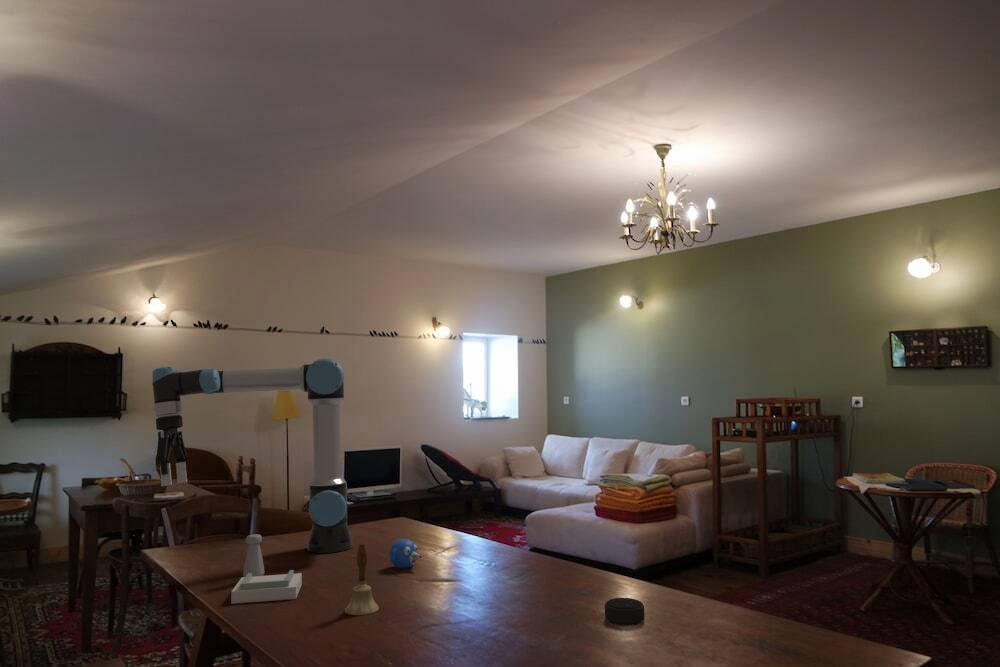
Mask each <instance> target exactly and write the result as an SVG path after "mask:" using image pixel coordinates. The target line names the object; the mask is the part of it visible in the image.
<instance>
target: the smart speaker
mask: <svg viewBox="0 0 1000 667" xmlns="http://www.w3.org/2000/svg"><path fill="white" fill-rule="evenodd" d="M604 617H605V620H606V621H607V622H609V623H611V624H614V625H618V626H636V625H638V624H642V622H643V621H644V620H645V617H646V616H645V605H644V604H643V602H642V601H640V600H639V599H634V598H632V597H631V598H630V597H615V598H610V599H608V600H607V601H606V602H605V603H604Z"/></svg>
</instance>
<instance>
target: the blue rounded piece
mask: <svg viewBox="0 0 1000 667" xmlns="http://www.w3.org/2000/svg"><path fill="white" fill-rule="evenodd" d="M389 548H390V549H389V552H388V554H389V563H391V564H392V565H393V566H395V567H396V568H398V569H407V568H410V567H412V566H413V565H414V564H415V563H416V562H417V561H418V560H419V559H422V558H423V555H422V554H420V553H419V548H418V545H417V544H416V543H415V542H414V541H412V540H411V539H407V538H401V539H398V540H396V541H394V543H392V545H391V546H390V547H389Z"/></svg>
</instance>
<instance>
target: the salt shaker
mask: <svg viewBox="0 0 1000 667" xmlns="http://www.w3.org/2000/svg"><path fill="white" fill-rule="evenodd" d="M262 541H263V537H262V535H261V534H259V533H258V534H257V533H254V534H248V536H246V538H245V543H246V545H248V547H247V551H246V555H245V556H246V557H245V560H244V566H243V572H242V576H243V577H246V575H247V574H248V573H252V577H254V576H265V566H264V561H263V560H264V559H263V554H262V549H261V545H260V544H261V543H262Z"/></svg>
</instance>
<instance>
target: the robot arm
mask: <svg viewBox="0 0 1000 667" xmlns="http://www.w3.org/2000/svg"><path fill="white" fill-rule="evenodd" d="M151 373H152V374H151V375H152V383H151V385H152V390H153V401H154V407H153V411H154V415H155V416H156V419H155V426H156V427H155V428H156V430H157V431H158V432H157V438H158V440H157V447H156V448H157V450H156V458H155V460H156V461H155V464H156V465H157V466H158V465H159V471H160V482H161V483H160V484H161V487H166V486H171V485H173V484H172V483H173V482H172V470H171V463H170V462H169V461H170V456H171V452H172V453H173V455H174V458H175V461H176V463H175V467H176V479H177V480H176V481H177V484H183V483H188V477H187V476H188V475H187V474H188V473H187V465H186V462H189V457H188V454H187V450H186V446H185V443H184V439H183V432H182V431H181V430H180V431H179V430H178V429H180V428H183V426H184V422H183V416H182V415H181V414H183V411H182V402H181V401H182V400H181V397H182V396H183V397H184V396H190V395H197V394H198V395H199V394H205V395H212V394H223V393H224V394H225V393H245V392H246V393H250V392H268V391H269V392H270V391H293V390H294V391H296V390H301V391H302V392H303V393H307V401H308V402H309V403H310V404H311V405H312V428H313V429H312V430H313V431H312V434H313V435H312V436H313V438H312V439H313V440H312V441H313V479H312V480H311V482H309V503H308V514H309V516H310V518H311V519H312V528H311V530H310V534H309V537H308V540H307V544H306V550H307V551H308V552H311V553H315V554H316V553H317V554H328V553H329V554H330V553H337V552H344V551H347V550H350V549H351V548H353V539H352V538H353V537H352V535H351V531H350V529H349V527H348V526H349V525H348V484H347V481H346V480H345V478H343V477H342V468H341V467H342V460H341V459H342V458H341V456H342V455H341V423H340V422H341V419H340V418H341V416H340V415H341V414H340V404H341V403H342V401H343V400H345V394H344V392H345V389H344V388H345V387H344V385H345V384H344V380H345V374H344V369H343V367H342V366H341V364H340V363H339V362H337V361H336V360H335V359H332V358H326V357H324V358H319V359H316V360H315V361H313V362H312V363H311V364H302V365H301V366H300V367H285V368H283V367H282V368H281V367H280V368H262V369H261V368H260V369H259V368H257V369H236V370H235V369H234V370H231V369H230V370H218V369H217V368H204V369H196V370H189V371H182V372H181V371H179V369H178V367H177V366H164V367H163V366H162V367H158V368H155V369H153V371H152V372H151Z"/></svg>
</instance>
